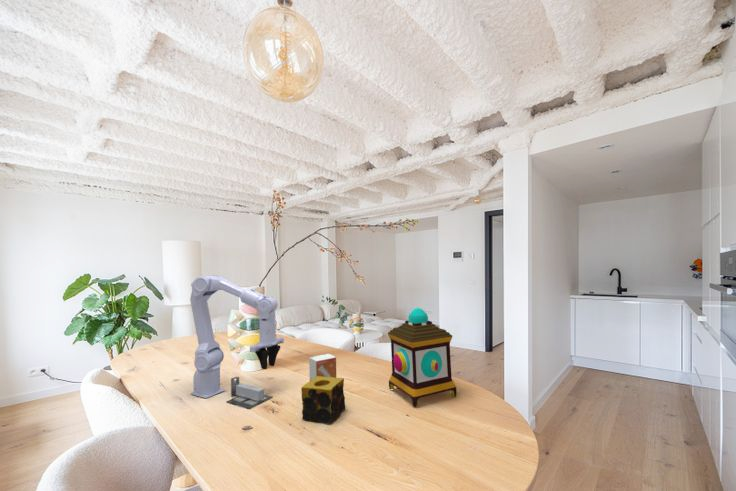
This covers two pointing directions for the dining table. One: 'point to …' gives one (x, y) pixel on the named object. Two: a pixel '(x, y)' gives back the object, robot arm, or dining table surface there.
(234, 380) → the post
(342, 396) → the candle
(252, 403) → the label panel
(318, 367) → the small box
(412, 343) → the decorative lantern
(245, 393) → the gray rectangular box
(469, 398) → the dining table surface
